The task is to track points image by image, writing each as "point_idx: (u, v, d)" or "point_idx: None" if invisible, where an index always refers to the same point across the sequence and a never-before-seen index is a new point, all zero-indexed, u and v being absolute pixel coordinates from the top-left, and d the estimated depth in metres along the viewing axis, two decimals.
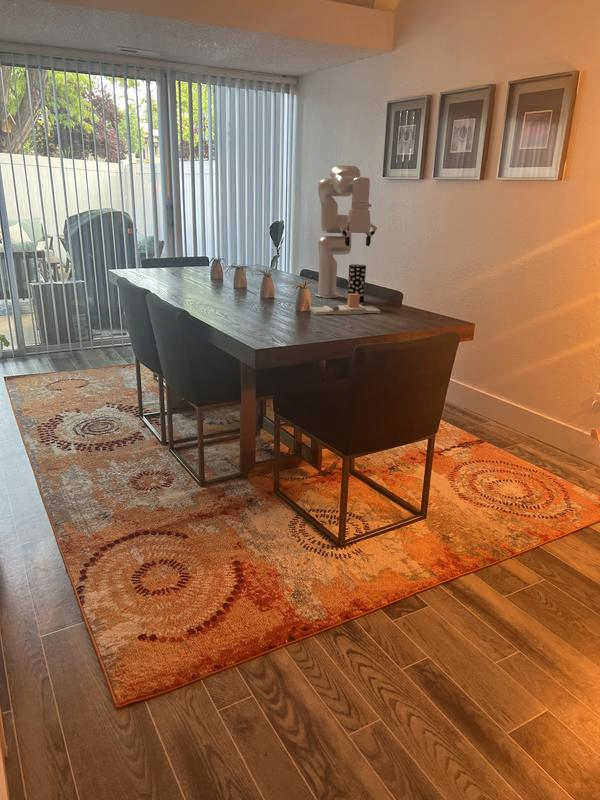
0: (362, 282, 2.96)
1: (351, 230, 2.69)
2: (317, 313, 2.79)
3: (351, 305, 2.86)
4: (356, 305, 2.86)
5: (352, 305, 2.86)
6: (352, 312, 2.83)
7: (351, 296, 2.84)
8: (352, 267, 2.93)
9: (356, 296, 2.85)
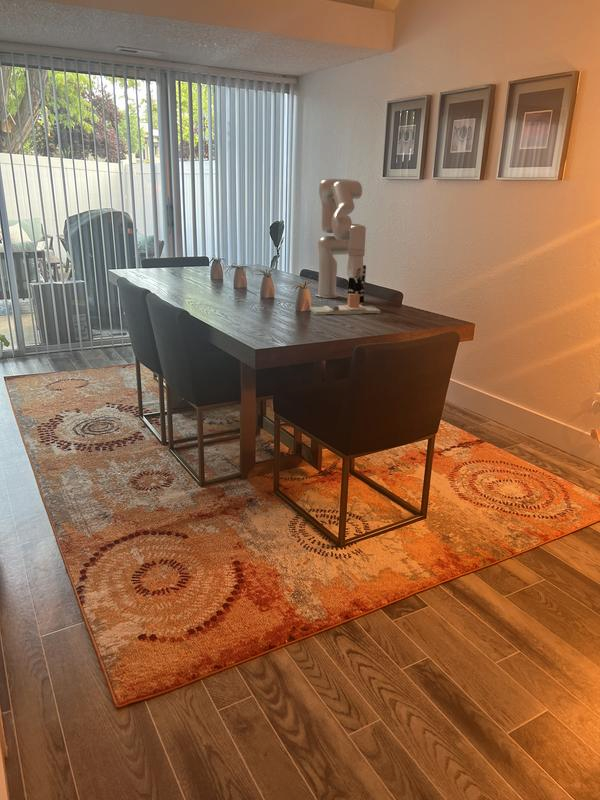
0: (362, 282, 2.96)
1: None
2: (317, 313, 2.79)
3: (351, 305, 2.86)
4: (356, 305, 2.86)
5: (352, 305, 2.86)
6: (352, 312, 2.83)
7: (351, 296, 2.84)
8: None
9: (356, 296, 2.85)
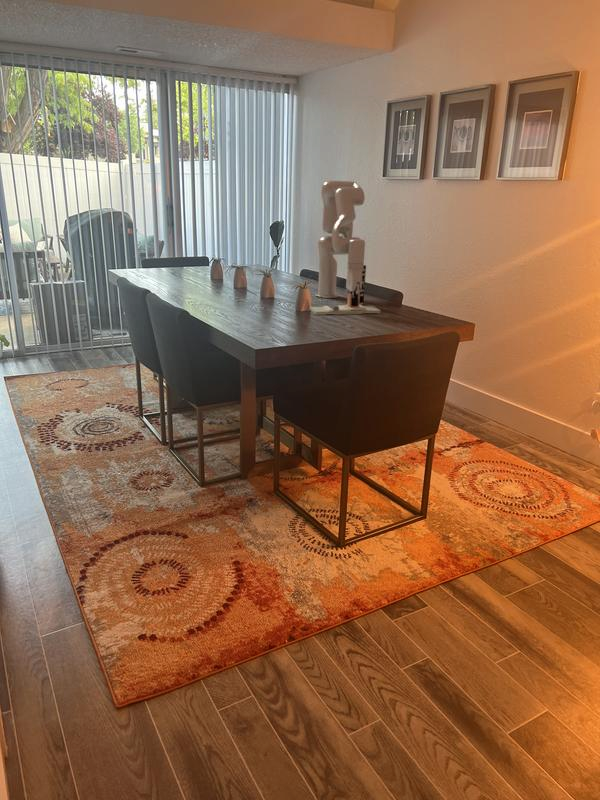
0: (362, 282, 2.96)
1: None
2: (317, 313, 2.79)
3: None
4: None
5: None
6: (352, 312, 2.83)
7: (351, 296, 2.84)
8: None
9: None
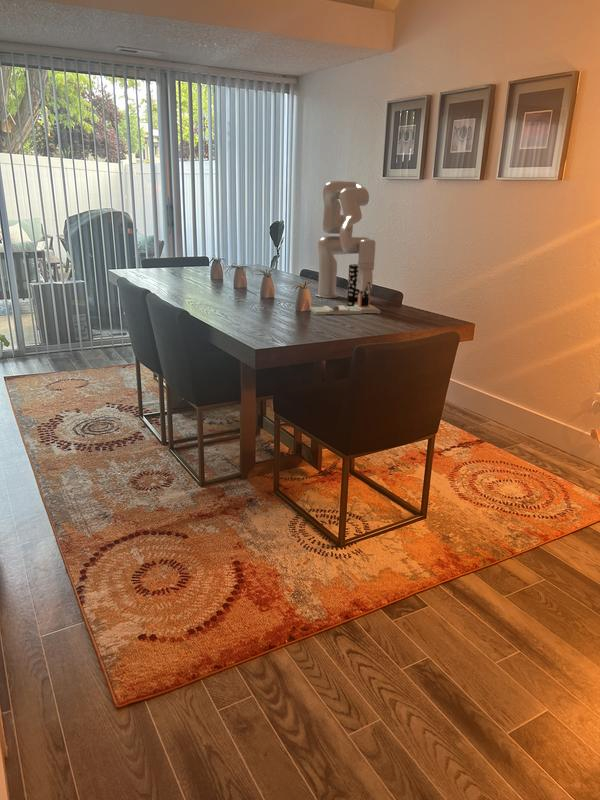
0: None
1: None
2: (317, 313, 2.79)
3: (361, 305, 2.87)
4: None
5: None
6: (352, 312, 2.83)
7: (361, 296, 2.86)
8: (352, 267, 2.93)
9: None
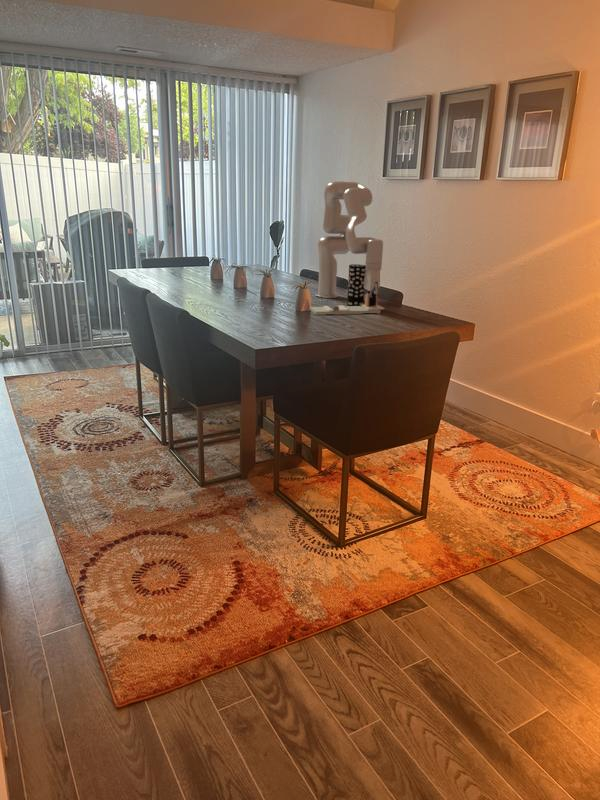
0: (362, 282, 2.96)
1: None
2: (317, 313, 2.79)
3: None
4: None
5: None
6: (352, 312, 2.83)
7: (369, 296, 2.86)
8: (352, 267, 2.93)
9: None
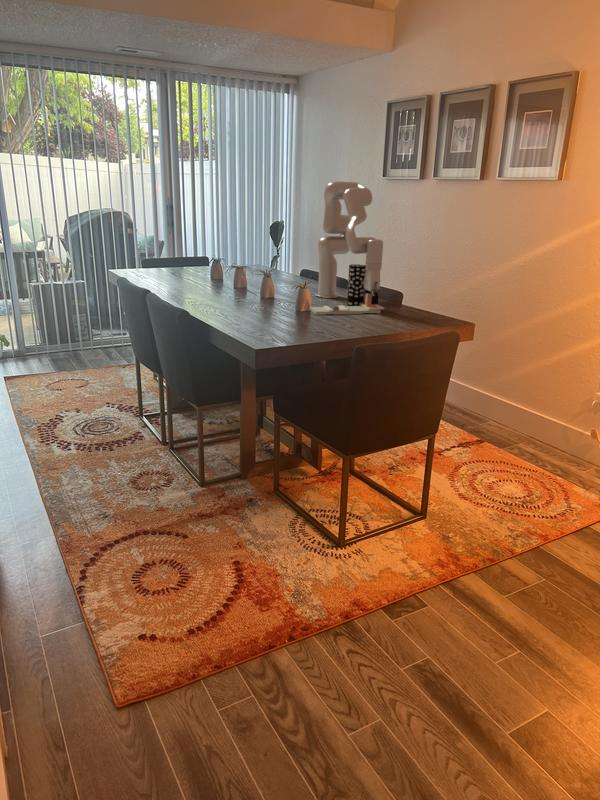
0: (362, 282, 2.96)
1: None
2: (317, 313, 2.79)
3: (369, 305, 2.88)
4: (374, 305, 2.89)
5: (370, 305, 2.88)
6: (352, 312, 2.83)
7: (369, 296, 2.86)
8: (352, 267, 2.93)
9: None
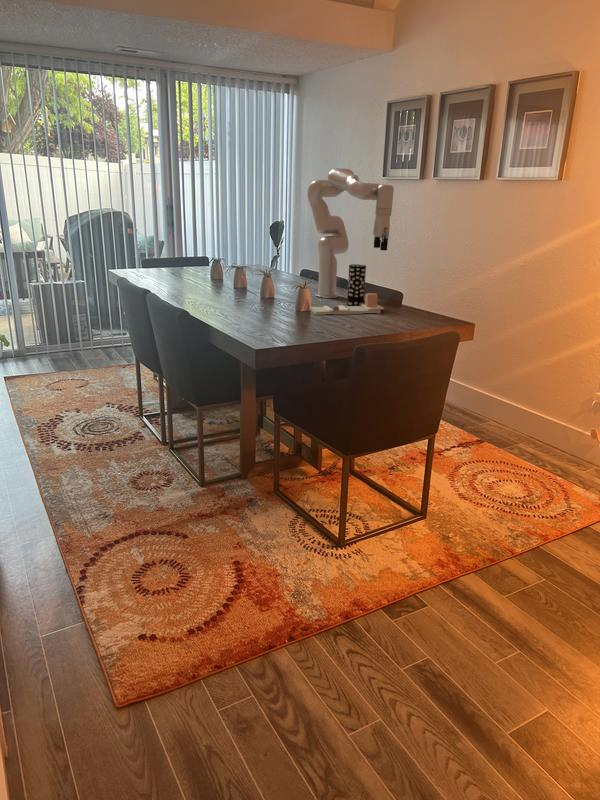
0: (362, 282, 2.96)
1: None
2: (317, 313, 2.79)
3: (369, 305, 2.88)
4: (374, 305, 2.89)
5: (370, 305, 2.88)
6: (352, 312, 2.83)
7: (369, 296, 2.86)
8: (352, 267, 2.93)
9: (374, 296, 2.87)
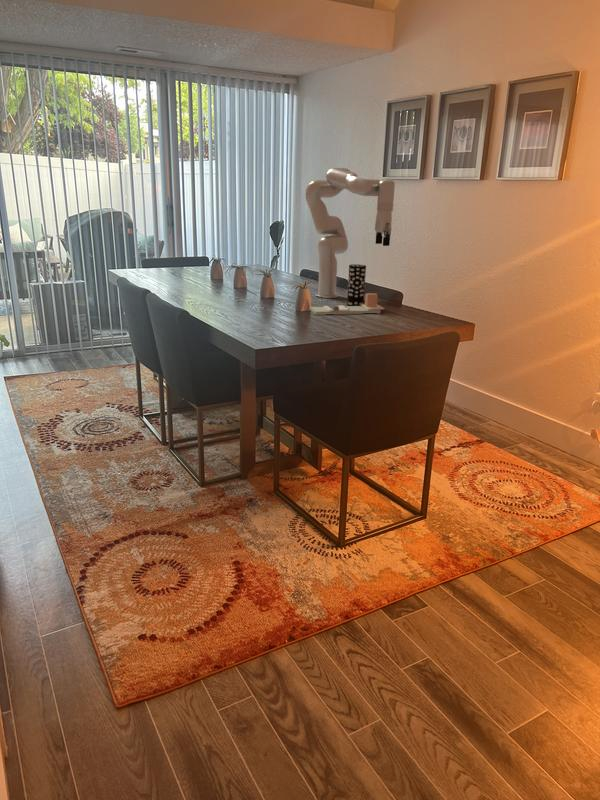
0: (362, 282, 2.96)
1: None
2: (317, 313, 2.79)
3: (369, 305, 2.88)
4: (374, 305, 2.89)
5: (370, 305, 2.88)
6: (352, 312, 2.83)
7: (369, 296, 2.86)
8: (352, 267, 2.93)
9: (374, 296, 2.87)
